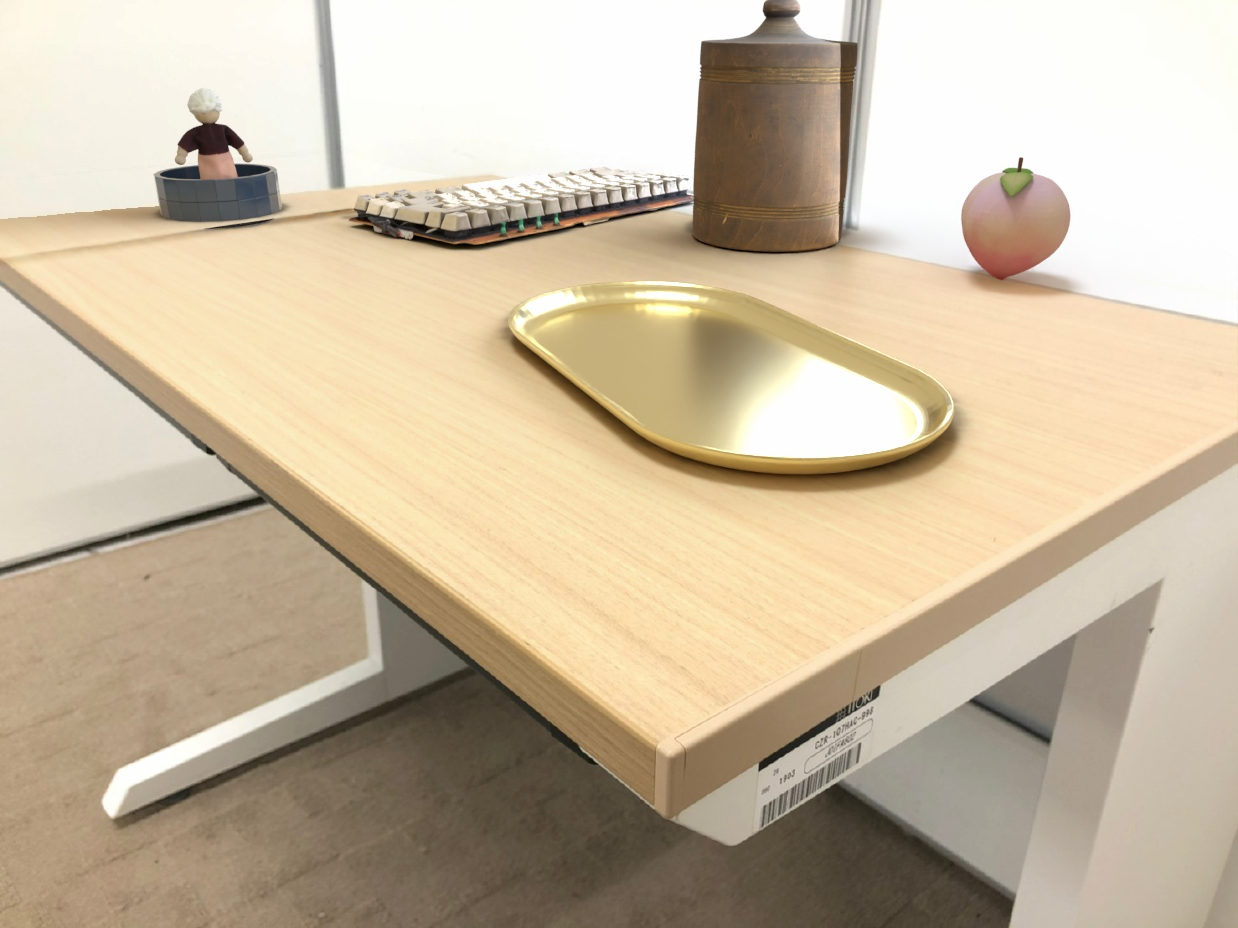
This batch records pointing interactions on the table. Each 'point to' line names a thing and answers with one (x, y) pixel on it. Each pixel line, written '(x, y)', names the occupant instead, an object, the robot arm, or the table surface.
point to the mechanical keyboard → (519, 204)
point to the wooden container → (773, 137)
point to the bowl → (218, 195)
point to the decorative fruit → (1014, 221)
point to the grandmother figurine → (210, 138)
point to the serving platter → (733, 377)
